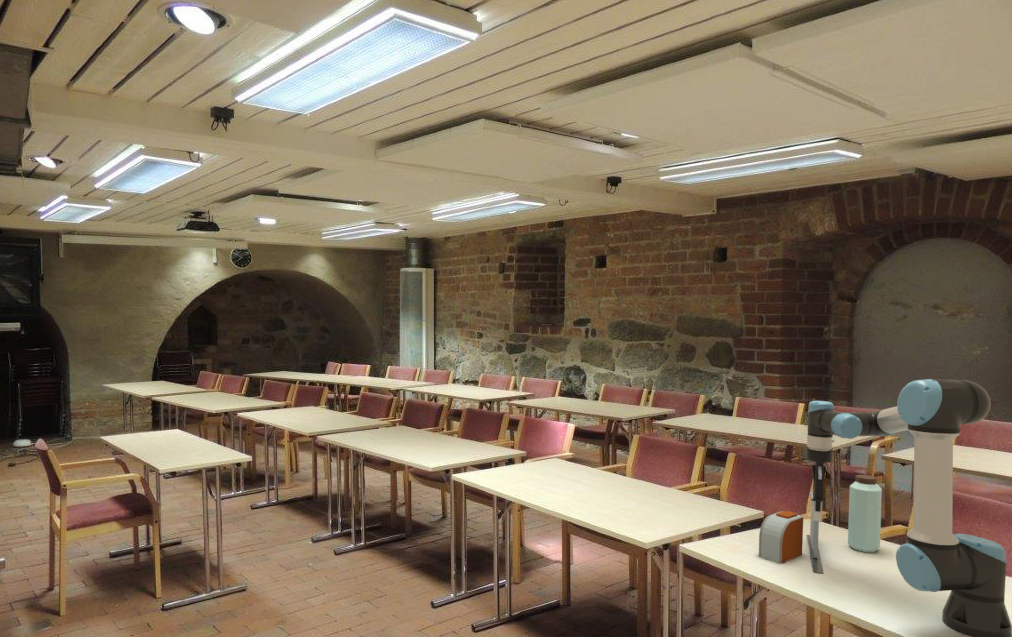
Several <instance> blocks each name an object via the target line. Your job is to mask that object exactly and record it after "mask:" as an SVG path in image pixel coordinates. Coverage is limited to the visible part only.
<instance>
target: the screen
mask: <svg viewBox="0 0 1012 637" xmlns="http://www.w3.org/2000/svg"><path fill="white" fill-rule="evenodd" d="M809 494H810V527H809V529H810V531H809V535H810V540H811V546H812V551H813V556H814V558H818V549H819V534H820V533H819V530H820V529H819V528H820V527H819V526H820V521H813V519H812V518H813V501H812V500H811V498H812V499H813V491H810V492H809Z"/></svg>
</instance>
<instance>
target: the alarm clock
mask: <svg viewBox="0 0 1012 637" xmlns="http://www.w3.org/2000/svg"><path fill="white" fill-rule="evenodd" d="M758 535H759V536H758V537H759V538H758V539H759V540H758V541H759V542H758V557H760V558H763V559H766V560H770V561H771V562H772V561H773V562H776V563H779V564H783V563H786V562H788V561H790V560H792V559H795V558H797V557H800V556H802V555H803V540H804V539H803V538H804V537H803V536H804V516H803V515H800V514H798V513H797V512H793V511H788V510H783V511H782V510H781V511H778V512H774V513H772V514H769V515H767V516H766V517H765V518H764V520H763V521H762V523H761V525H760V530H759V534H758Z"/></svg>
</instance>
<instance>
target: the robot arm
mask: <svg viewBox="0 0 1012 637" xmlns="http://www.w3.org/2000/svg"><path fill="white" fill-rule="evenodd" d="M896 402H897V405H896V406H892V407H889V408H885V409H881V410H876V411H867V412H864V411H854V412H853V411H852V412H851V411H837V410H835V407H834V404H833V403H832V402H831V401H825V400H812V401H810V402H809V403H808V412H807V434H806V435H807V436H806V437H807V438H806V447H808V448H806V459H807V461H810V462H814V464H811V470H812V480H813V481H812V482H813V484H812V492H813V499H812V498H811V497H810V501H811V500H812V501H813V518H812V519H813V521H819V522H821V523H822V522H823V501H824V500H825V497H824V488H825V486H824V484H825V483H824V482H825V480H826V473H827V468H826V465H824V463H825V464H826V463H831V462H832V461H833V451H832V448H833V443H835V439H833V436H837V437H840V438H842V439H849V440H851V439H855V438H857V437H890V436H891V437H892V436H894V435H896V434H897V433H900V432H905V431H908V432H909V433H911V434H912V435H913V438H914V440H913V441H914V443H913V445H914V448H913V449H914V450H913V453H914V454H913V455H914V456H913V459H914V460H913V462H914V463H913V527H912V528H911V529H910V530H908V531H907V532H906V542H905V543H903V544H901V545H900V546H899V548H897V549H896V554H895V561H896V562H895V563H896V566H897V569H898V571H899V573H900V575H901V576H902V577H903V580H904V581H905V582H906V583H907V584H908V585H909V586H910V587H911V588H913V589H915V590H917V591H920V592H930V593H937V592H942V591H943V592H944V591H945V592H946V591H947V592H948V591H950V593H949V596H948V598H947V600H946V602H945V605H944V606H943V609H942V617H941V620H942V621H943V622H944V624H946V626H948V627H950V628H951V629H953V630H955V631H958V633H959V632H960V633H963V634H965V635H968V636H972V637H1012V622H1011V619H1010V616H1009V613H1008V610H1007V607H1006V606H1007V605H1006V604H1005V603H1006V602H1005V596H1006V595H1005V594H1006V577H1007V576H1006V573H1007V563H1008V561H1007V552H1006V550H1005V548H1004V546H1003V545H1001V544H1000V543H997V542H996V541H993V540H990V539H988V538H983V537H979V536H976V535H972V534H968V533H967V534H965V533H955V534H954V533H953V505H954V504H953V502H954V500H953V495H954V494H953V486H954V485H953V484H954V483H953V482H954V481H953V480H954V479H953V477H954V475H953V474H954V473H953V472H954V468H953V467H954V464H953V463H954V462H953V461H954V440H955V439H956V438H957V437H958V436H959V435H961V425H970V424H976V423H979V422H980V421H983V419H985V418H986V417H987V416H988V414H989V412H990V410H991V405H992V404H991V402H992V401H991V398H990V396H989V394H988V392H987V390H986V389H985V388H984V387H983V386H981V385H979V384H978V383H976V382H975V381H971V380H968V379H967V380H966V379H932V378H928V379H926V378H925V379H917V380H916V379H915V380H912V381H911V382H908V383H907V384H906V385H905V386H904V387H903V388H902V389H901V390H900V393H899V395H898V398H897V401H896Z"/></svg>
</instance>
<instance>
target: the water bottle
mask: <svg viewBox="0 0 1012 637" xmlns="http://www.w3.org/2000/svg"><path fill="white" fill-rule="evenodd" d="M854 479H855V481H853V483H851V484H850V485H849V496H848V497H849V498H848V500H849V502H848V525H847V527H848V528H847V530H848V532H847V544H848V545H849V547H850V548H851V547H852V549H853V550H854V549H855V550H854V551H857V550H858V552H861V551H862V552H861V553H873V552H874V553H876V552H877V551H878V550H879V549H880V548H881V528H882V526H881V522H882V499H883V498H882V495H883V494H882V493H883V489H882V488H881V486H879V484H878V479H877V477H875V476H873V475H867V474H857V475H855V478H854ZM875 551H876V552H875Z"/></svg>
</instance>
